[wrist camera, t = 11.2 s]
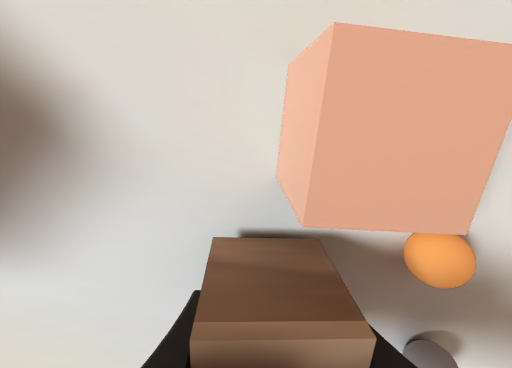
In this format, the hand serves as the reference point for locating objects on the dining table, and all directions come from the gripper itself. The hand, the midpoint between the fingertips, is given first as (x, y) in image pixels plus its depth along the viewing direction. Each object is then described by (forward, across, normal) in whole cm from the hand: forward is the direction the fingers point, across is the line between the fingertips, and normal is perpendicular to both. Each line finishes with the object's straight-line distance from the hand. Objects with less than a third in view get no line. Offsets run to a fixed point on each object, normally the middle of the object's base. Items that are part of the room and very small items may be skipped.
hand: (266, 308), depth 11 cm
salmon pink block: (+3, -3, -8) cm, 9 cm away
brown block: (+2, 0, 0) cm, 2 cm away
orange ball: (+3, -9, -2) cm, 10 cm away
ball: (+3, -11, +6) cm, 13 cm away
